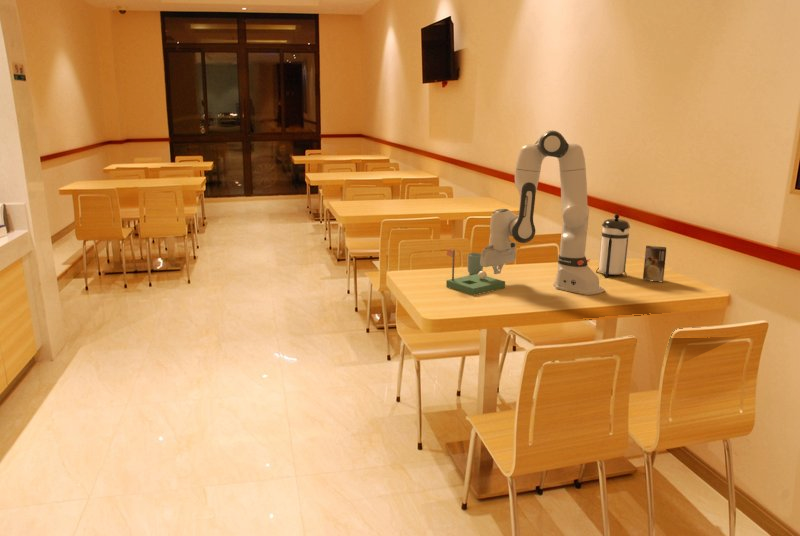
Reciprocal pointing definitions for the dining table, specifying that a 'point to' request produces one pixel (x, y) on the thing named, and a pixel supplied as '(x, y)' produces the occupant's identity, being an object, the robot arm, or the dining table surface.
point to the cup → (474, 263)
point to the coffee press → (614, 246)
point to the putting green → (472, 281)
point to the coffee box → (654, 263)
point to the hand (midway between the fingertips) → (497, 273)
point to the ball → (482, 275)
